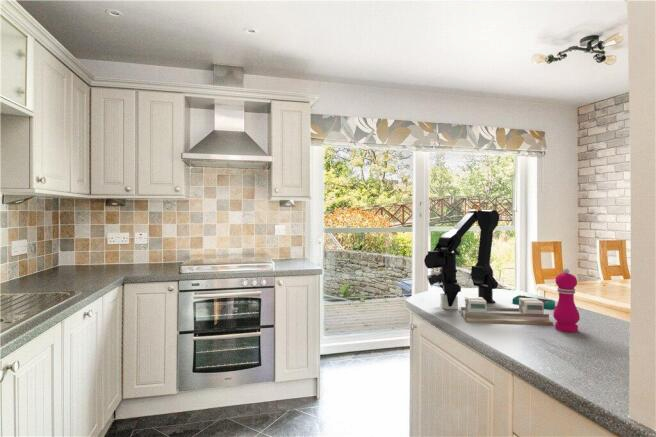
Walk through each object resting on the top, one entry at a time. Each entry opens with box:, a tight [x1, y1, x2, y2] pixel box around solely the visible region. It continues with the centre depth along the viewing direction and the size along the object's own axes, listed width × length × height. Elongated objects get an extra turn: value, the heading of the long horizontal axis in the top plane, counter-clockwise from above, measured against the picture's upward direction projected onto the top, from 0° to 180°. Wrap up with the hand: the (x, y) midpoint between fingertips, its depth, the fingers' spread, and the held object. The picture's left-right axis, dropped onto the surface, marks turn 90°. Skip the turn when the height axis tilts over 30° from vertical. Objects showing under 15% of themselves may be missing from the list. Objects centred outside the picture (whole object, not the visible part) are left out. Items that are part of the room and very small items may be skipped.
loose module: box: [440, 293, 459, 310], centre depth 151 cm, size 5×6×5 cm
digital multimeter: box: [511, 294, 556, 310], centre depth 153 cm, size 7×15×3 cm, turn 44°
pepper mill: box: [553, 268, 581, 333], centre depth 121 cm, size 7×7×20 cm
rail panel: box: [459, 296, 554, 325], centre depth 135 cm, size 14×28×7 cm, turn 81°
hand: (449, 304), depth 151 cm, fingers closed on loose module, 5 cm apart
